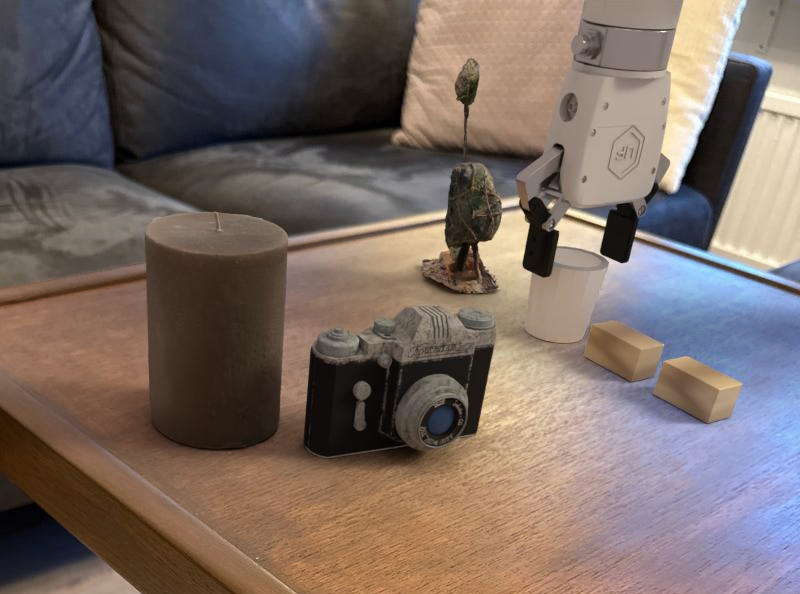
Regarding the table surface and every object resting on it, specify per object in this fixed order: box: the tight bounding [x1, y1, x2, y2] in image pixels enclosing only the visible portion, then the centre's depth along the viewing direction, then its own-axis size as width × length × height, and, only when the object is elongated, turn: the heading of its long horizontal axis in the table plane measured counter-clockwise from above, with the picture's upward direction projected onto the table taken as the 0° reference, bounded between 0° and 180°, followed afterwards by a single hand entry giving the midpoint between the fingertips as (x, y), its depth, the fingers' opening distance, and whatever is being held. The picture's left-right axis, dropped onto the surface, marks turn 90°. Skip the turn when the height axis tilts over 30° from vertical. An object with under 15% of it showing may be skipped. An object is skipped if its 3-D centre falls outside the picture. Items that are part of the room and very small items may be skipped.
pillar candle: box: [144, 210, 289, 450], centre depth 69 cm, size 10×10×15 cm
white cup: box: [524, 245, 610, 344], centre depth 91 cm, size 7×7×7 cm
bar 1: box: [583, 319, 665, 383], centre depth 87 cm, size 6×3×3 cm, turn 32°
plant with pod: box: [421, 57, 504, 295], centre depth 96 cm, size 8×11×20 cm
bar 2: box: [652, 355, 744, 424], centre depth 82 cm, size 6×3×3 cm, turn 32°
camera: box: [302, 304, 499, 459], centre depth 70 cm, size 15×7×10 cm, turn 115°
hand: (575, 265), depth 90 cm, fingers open, 9 cm apart
